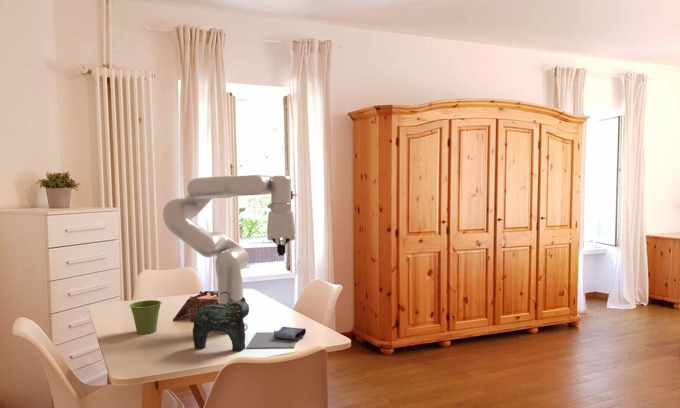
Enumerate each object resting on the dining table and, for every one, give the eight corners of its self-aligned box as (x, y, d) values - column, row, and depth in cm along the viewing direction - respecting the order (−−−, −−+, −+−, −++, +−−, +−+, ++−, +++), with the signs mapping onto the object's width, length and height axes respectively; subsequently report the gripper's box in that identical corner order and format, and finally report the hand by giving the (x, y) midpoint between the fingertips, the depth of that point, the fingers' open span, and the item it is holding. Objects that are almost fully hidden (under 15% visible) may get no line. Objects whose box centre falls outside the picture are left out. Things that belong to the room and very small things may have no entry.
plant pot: (124, 332, 196) (123, 304, 196) (153, 326, 205) (152, 298, 204) (138, 338, 188) (137, 308, 188) (168, 331, 197) (167, 302, 196)
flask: (295, 333, 178) (268, 331, 182) (295, 342, 178) (268, 340, 182) (305, 327, 187) (279, 325, 190) (306, 335, 187) (280, 333, 190)
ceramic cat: (251, 347, 174) (249, 290, 174) (243, 353, 168) (241, 294, 167) (199, 344, 179) (197, 289, 178) (189, 350, 173) (188, 292, 172)
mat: (246, 348, 173) (246, 347, 173) (256, 333, 191) (256, 332, 191) (293, 348, 173) (293, 347, 173) (299, 333, 191) (299, 331, 191)
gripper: (259, 208, 190) (259, 256, 191) (298, 208, 188) (298, 256, 189) (264, 207, 197) (264, 253, 198) (302, 207, 196) (302, 254, 197)
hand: (281, 255), depth 194 cm, fingers closed
